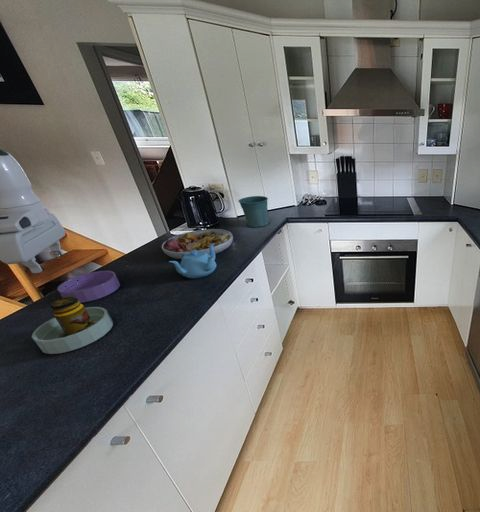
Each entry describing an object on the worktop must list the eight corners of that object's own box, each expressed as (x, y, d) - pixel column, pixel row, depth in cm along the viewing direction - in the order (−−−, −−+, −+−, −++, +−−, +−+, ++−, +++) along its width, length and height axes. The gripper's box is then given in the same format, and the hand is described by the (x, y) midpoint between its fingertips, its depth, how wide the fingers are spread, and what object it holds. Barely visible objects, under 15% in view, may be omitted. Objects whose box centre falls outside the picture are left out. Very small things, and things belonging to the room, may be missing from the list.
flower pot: (248, 231, 161) (243, 204, 154) (240, 223, 172) (234, 198, 165) (276, 225, 171) (272, 200, 164) (266, 218, 182) (262, 194, 175)
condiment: (98, 334, 82) (79, 301, 77) (57, 348, 77) (34, 314, 72) (98, 322, 87) (80, 291, 82) (59, 335, 82) (37, 302, 76)
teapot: (184, 267, 121) (176, 246, 116) (222, 261, 126) (216, 241, 122) (176, 284, 109) (168, 261, 104) (219, 276, 114) (213, 255, 110)
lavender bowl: (55, 308, 93) (47, 296, 91) (76, 286, 106) (70, 275, 103) (112, 298, 99) (106, 286, 97) (126, 278, 112) (121, 267, 109)
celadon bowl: (28, 361, 73) (17, 348, 71) (58, 326, 85) (50, 314, 83) (102, 345, 79) (94, 331, 77) (120, 314, 91) (114, 302, 89)
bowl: (217, 233, 157) (213, 220, 154) (245, 246, 142) (242, 232, 138) (155, 250, 135) (149, 236, 132) (180, 268, 120) (174, 252, 116)
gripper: (28, 206, 76) (53, 250, 82) (-31, 230, 59) (7, 284, 65) (59, 203, 78) (81, 247, 84) (11, 226, 62) (44, 278, 68)
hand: (49, 263), depth 75 cm, fingers open, 8 cm apart
